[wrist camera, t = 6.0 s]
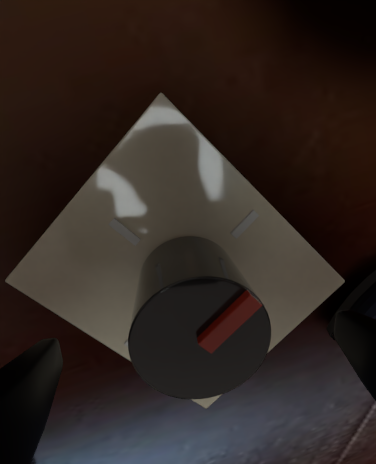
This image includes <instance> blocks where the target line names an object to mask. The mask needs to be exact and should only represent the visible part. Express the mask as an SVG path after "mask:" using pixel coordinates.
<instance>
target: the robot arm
mask: <svg viewBox="0 0 376 464" xmlns="http://www.w3.org/2000/svg"><path fill="white" fill-rule="evenodd" d="M334 337H335V339H336V341H337V343H338V344H339V346H340V348H341V349H342V351H343V352H344V354H345V356H346V357H347V359H348V360H349V362H350V364H351V365H352V367H353V369H354V370H355V372H356V373H357V375H358V377H359V378H360V380H361V381H362V383H363V384H364V386H365V387H366V388H367V390H368V391H369V393H370V394H371V395H372V397H373V398H374V399H375V401H376V319H374V318H371V317H369V316H366V315H363V314H361V313H358V312H355V311H352V310H342V311H338V312H337V314H336V318H335V325H334ZM62 366H63V359H62V355H61V350H60V345H59V341H58V340H57V339H56V338H51V339H43V340H41V341H39V342H38V343H36V344H35V345H33V346H32V347H31V348H29V349H28V350H26V351H25V352H23V353H22V354H21V355H19V356H18V357H16V358H15V359H13V360H12V361H11V362H9V363H8V364H6V365H5V366H3V367H2V368H1V369H0V464H31V461H32V459H33V456H34V454H35V451H36V449H37V446H38V443H39V441H40V438H41V436H42V433H43V431H44V428H45V425H46V422H47V419H48V416H49V413H50V409H51V406H52V402H53V399H54V395H55V392H56V388H57V385H58V381H59V378H60V374H61V371H62Z"/></svg>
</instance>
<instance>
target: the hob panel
mask: <svg viewBox="0 0 376 464" xmlns="http://www.w3.org/2000/svg"><path fill="white" fill-rule="evenodd" d="M184 236H196V237H202V238H206V239H208V240H211V241H213V242H215V243H216V244H218V245H219V246H221V247H222V248H223V249H224V250H225V251H226V252H227V254H228V255H229V256H230V258H231V259H232V261H233V262H234V263H235V265H236V266H237V268H238V269H239V270H240V272H241V273H242V275H243V276H244V277H245V279H246V280H247V282H248V283H249V285H250V286H251V287H252V289H253V290H254V292H255V293H256V294H257V296H258V297H259V299H260V300H261V302H262V303H263V304H264V306H265V308H266V310H267V312H268V315H269V318H270V323H271V341H270V346H269V349H268V352H269V351H270V350H271V349H272V348H273V347H275V346H276V345H277V344H278V343H279V342H280V341H281V340H282V339H283V338H284V337H285V336H287V335H288V334H289V333H290V332H291V331H292V330H293V329H294V328H295V327H296V326H297V325H299V324H300V323H301V322H302V321H303V320H304V319H305V318H306V317H307V316H308V315H309V314H311V313H312V312H313V311H314V310H315V309H316V308H317V307H318V306H319V305H320V304H321V303H323V302H324V301H325V300H326V299H327V298H328V297H329V296H330V295H331V294H332V293H333V292H335V291H336V290H337V289H338V288H339V287H340V286H341V285H342V284H343V283H344V282H345V280H344V279H343V278H342V277H341V276H340V275H339V274H338V273H337V272H336V271H335V270H334V269H333V268H332V267H331V266H330V265H329V264H328V263H327V262H326V261H325V259H324V258H323V257H322V256H321V255H320V254H319V253H318V252H317V251H316V250H315V249H314V248H313V247H312V246H311V245H310V244H309V243H308V242H307V241H306V240H305V239H304V238H303V237H302V236H301V235H300V234H299V233H298V232H297V231H296V230H295V229H294V228H293V227H292V226H291V225H290V224H289V223H288V222H287V220H286V219H285V218H284V217H283V216H282V215H281V214H280V213H279V212H278V211H277V210H276V209H275V208H274V207H273V206H272V205H271V204H270V203H269V202H268V201H267V200H266V199H265V198H264V197H263V196H262V195H261V194H260V193H259V192H258V191H257V190H256V189H255V188H254V187H253V186H252V185H251V184H250V182H249V181H248V180H247V179H246V178H245V177H244V176H243V175H242V174H241V173H240V172H239V171H238V170H237V169H236V168H235V167H234V166H233V165H232V164H231V163H230V162H229V161H228V160H227V159H226V158H225V157H224V156H223V155H222V154H221V153H220V152H219V151H218V150H217V149H216V148H215V147H214V146H213V145H212V143H211V142H210V141H209V140H208V139H207V138H206V137H205V136H204V135H203V134H202V133H201V132H200V131H199V130H198V129H197V128H196V127H195V126H194V125H193V124H192V123H191V122H190V121H189V120H188V119H187V118H186V117H185V116H184V115H183V114H182V113H181V112H180V111H179V110H178V109H177V108H176V107H175V106H174V104H173V103H172V102H171V101H170V100H169V99H168V98H167V97H166V96H165V95H164V94H163V93H159V95H158V96H157V97H156V98H155V99H154V101H153V102H152V103H151V104H150V105H149V107H148V108H147V109H146V110H145V111H144V113H143V114H142V115H141V116H140V118H139V119H138V120H137V121H136V122H135V124H134V125H133V126H132V127H131V128H130V130H129V131H128V132H127V133H126V134H125V136H124V137H123V138H122V139H121V140H120V142H119V143H118V144H117V145H116V146H115V148H114V149H113V150H112V151H111V153H110V154H109V155H108V156H107V157H106V159H105V160H104V161H103V162H102V163H101V165H100V166H99V167H98V168H97V169H96V171H95V172H94V173H93V174H92V175H91V177H90V178H89V179H88V180H87V181H86V183H85V184H84V185H83V186H82V188H81V189H80V190H79V191H78V192H77V194H76V195H75V196H74V197H73V198H72V200H71V201H70V202H69V203H68V204H67V206H66V207H65V208H64V209H63V210H62V212H61V213H60V214H59V215H58V216H57V218H56V219H55V220H54V221H53V223H52V224H51V225H50V226H49V227H48V229H47V230H46V231H45V232H44V233H43V235H42V236H41V237H40V238H39V239H38V241H37V242H36V243H35V244H34V245H33V247H32V248H31V249H30V250H29V251H28V253H27V254H26V255H25V256H24V258H23V259H22V260H21V261H20V262H19V264H18V265H17V266H16V267H15V268H14V270H13V271H12V272H11V273H10V274H9V276H8V277H7V278H6V279H5V282H7V283H8V284H10V285H11V286H13V287H14V288H16V289H18V290H19V291H21V292H22V293H24V294H25V295H27V296H29V297H30V298H32V299H33V300H35V301H36V302H38V303H40V304H41V305H43V306H44V307H46V308H48V309H49V310H51V311H52V312H54V313H55V314H57V315H59V316H60V317H62V318H63V319H65V320H66V321H68V322H70V323H71V324H73V325H74V326H76V327H78V328H79V329H81V330H82V331H84V332H85V333H87V334H89V335H90V336H92V337H93V338H95V339H96V340H98V341H100V342H101V343H103V344H104V345H106V346H107V347H109V348H111V349H112V350H114V351H115V352H117V353H119V354H120V355H122V356H123V357H125V358H126V359H128V360H130V361H131V359H130V356H129V351H128V336H129V330H130V324H131V319H132V313H133V308H134V302H135V297H136V291H137V286H138V280H139V275H140V271H141V268H142V266H143V263H144V262H145V260H146V258H147V257H148V256H149V255H150V253H151V252H152V251H153V250H154V249H156V248H157V247H158V246H160V245H161V244H163V243H165V242H166V241H169V240H171V239H174V238H178V237H184ZM268 352H267V353H268ZM221 395H222V394H221ZM221 395H218V396H215V397H211V398H205V399H191V400H193V401H194V402H196V403H197V404H199V405H201V406H202V407H204V408H205V409H207V408H208V407H209V406H210V405H211V404H212V403H213V402H214V401H216V400H217V399H218V398H219V397H220V396H221Z"/></svg>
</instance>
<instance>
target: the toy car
mask: <svg viewBox="0 0 376 464" xmlns="http://www.w3.org/2000/svg"><path fill="white" fill-rule="evenodd" d="M342 310H352V311H355V312H358V313H361V314H363V315H366V316H369V317H371V318H374V319H376V270H375V271H374V272H373V273H371V274H370V275H369V276H368V277H367V278H366V279H365V280H363V281H362V282H361V283H360V284H359V285H358V286H357V287H356V288H355V289H354V290H353V291H352V292H351V294H350V295H349V296H348V297H347V298H346V300H345V301H344V302H343V303H342V305H341V306H340V307H339V308H338V310H337V311H336V313H335V314H334V316H333V317H332V319H331V320H330V322H329V324H328V326H327V330H328V332H329V335H330V336H331V337H332V338H333V336H334V325H335V318H336V314H337V312H338V311H342ZM332 334H333V336H332ZM334 338H335V337H334ZM334 338H333V339H334ZM334 340H336V339H334Z"/></svg>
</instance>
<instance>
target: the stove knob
mask: <svg viewBox="0 0 376 464" xmlns="http://www.w3.org/2000/svg"><path fill="white" fill-rule="evenodd" d="M270 341H271V323H270V318H269V315H268V312H267V310H266V308H265V306H264V304H263V303H262V302H261V300H260V299H259V297H258V296H257V294H256V293H255V292H254V290H253V289H252V287H251V286H250V285H249V283H248V282H247V280H246V279H245V277H244V276H243V275H242V273H241V272H240V270H239V269H238V268H237V266H236V265H235V263H234V262H233V261H232V259H231V258H230V256H229V255H228V254H227V252H226V251H225V250H224V249H223V248H222V247H221V246H219V245H218V244H216V243H215V242H213V241H211V240H208V239H206V238H202V237H196V236H184V237H178V238H174V239H171V240H169V241H166V242H165V243H163V244H161V245H160V246H158V247H157V248H156V249H154V250H153V251H152V252H151V253H150V255H149V256H148V257H147V258H146V260H145V262H144V263H143V266H142V268H141V271H140V275H139V280H138V286H137V291H136V297H135V302H134V308H133V313H132V319H131V324H130V330H129V336H128V351H129V356H130V359H131V362H132V364H133V366H134V368H135V370H136V372H137V373H138V375H139V376H140V377H141V378H142V379H143V380H144V381H145V382H146V383H147V384H148V385H149V386H151V387H152V388H153V389H155V390H157V391H159V392H161V393H163V394H166V395H168V396H172V397H175V398H181V399H205V398H211V397H215V396H218V395H221V394H224V393H226V392H229V391H231V390H233V389H235V388H236V387H238V386H240V385H241V384H243V383H244V382H245V381H246V380H248V379H249V378H250V377H251V376H252V375H253V374H254V373H255V372H256V371H257V369H258V368H259V367H260V365H261V364H262V362H263V361H264V359H265V357H266V355H267V352H268V349H269V346H270Z"/></svg>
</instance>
